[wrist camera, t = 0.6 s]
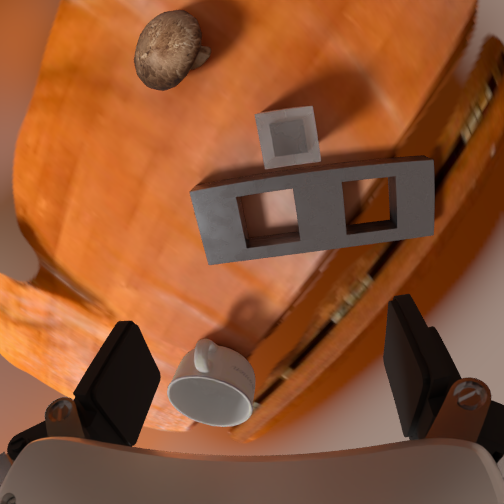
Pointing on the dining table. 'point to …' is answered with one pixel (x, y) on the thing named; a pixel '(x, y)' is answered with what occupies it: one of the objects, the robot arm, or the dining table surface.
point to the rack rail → (316, 208)
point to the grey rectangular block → (288, 136)
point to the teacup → (213, 385)
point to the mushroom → (169, 50)
